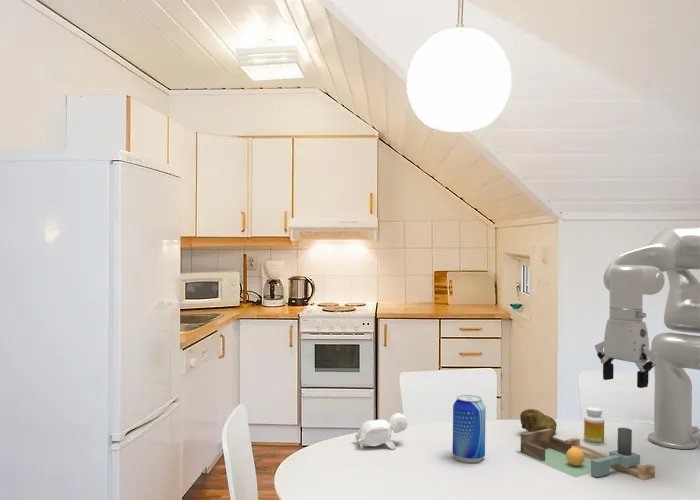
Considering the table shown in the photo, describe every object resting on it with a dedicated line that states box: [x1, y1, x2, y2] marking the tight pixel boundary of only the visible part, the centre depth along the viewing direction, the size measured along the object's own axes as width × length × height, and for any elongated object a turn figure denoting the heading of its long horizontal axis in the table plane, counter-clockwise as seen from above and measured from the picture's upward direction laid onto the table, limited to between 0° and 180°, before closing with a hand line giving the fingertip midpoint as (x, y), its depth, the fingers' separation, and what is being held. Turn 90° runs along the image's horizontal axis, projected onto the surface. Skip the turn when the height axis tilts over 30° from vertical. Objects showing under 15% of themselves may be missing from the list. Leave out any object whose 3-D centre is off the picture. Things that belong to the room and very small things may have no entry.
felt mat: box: [515, 448, 611, 478], centre depth 152 cm, size 13×20×1 cm, turn 28°
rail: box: [564, 437, 656, 481], centre depth 150 cm, size 4×23×3 cm, turn 28°
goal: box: [520, 428, 572, 461], centre depth 157 cm, size 11×8×5 cm
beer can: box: [452, 394, 487, 464], centre depth 153 cm, size 8×8×16 cm
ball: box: [566, 448, 585, 466], centre depth 148 cm, size 4×4×4 cm
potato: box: [519, 408, 558, 435], centre depth 173 cm, size 8×13×8 cm, turn 103°
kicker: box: [590, 427, 641, 478], centre depth 144 cm, size 14×5×10 cm, turn 118°
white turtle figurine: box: [354, 412, 408, 451], centre depth 163 cm, size 9×8×15 cm
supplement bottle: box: [583, 406, 605, 446], centre depth 167 cm, size 5×5×10 cm
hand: (624, 383), depth 146 cm, fingers open, 9 cm apart
